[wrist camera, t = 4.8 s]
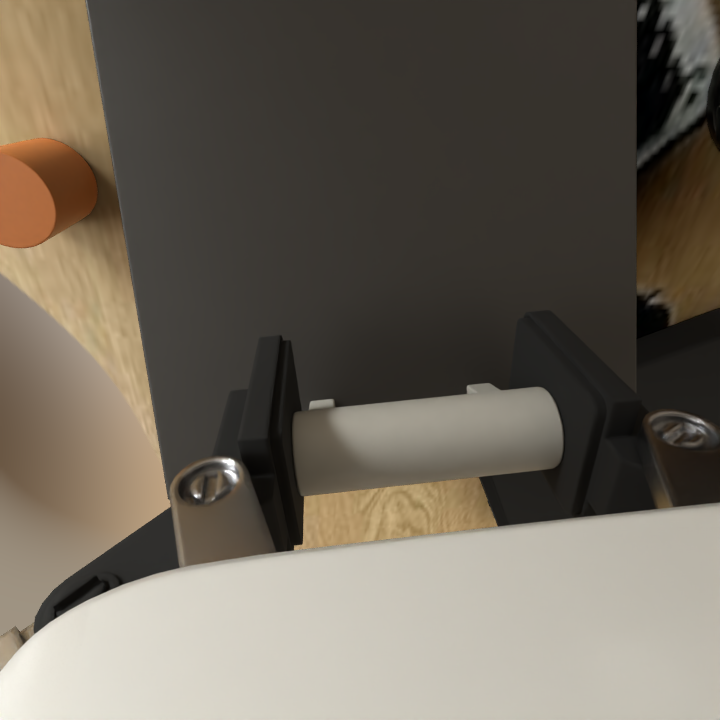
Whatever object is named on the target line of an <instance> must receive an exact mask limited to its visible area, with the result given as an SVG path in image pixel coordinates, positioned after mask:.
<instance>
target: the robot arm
mask: <svg viewBox="0 0 720 720" xmlns="http://www.w3.org/2000/svg"><path fill="white" fill-rule="evenodd" d="M530 387H541V388H544V389H546V390H547V391H548V392H549V393H550V394H551V396H552V397H553V399H554V401H555V402H556V405H557V407H558V410H559V413H560V416H561V420H562V424H563V431H564V452H563V456H562V460H561V462H560V463H559V465H558V466H557V467H555V468H553V469H546V470H540V471H541V473H542V474H543V476H544V478H545V480H546V481H547V483H548V485H549V486H550V488H551V490H552V492H553V493H554V495H555V497H556V499H557V500H558V502H559V504H560V505H561V507H562V509H563V510H564V512H565V513H566V514H572V515H573V517H574V518H570V519H561V520H552V521H543V522H534V523H525V524H516V525H507V526H499V527H490V528H481V529H472V530H463V531H455V532H446V533H437V534H428V535H420V536H412V537H403V538H395V539H386V540H378V541H369V542H361V543H352V544H344V545H335V546H327V547H319V548H310V549H302V550H294V545H302V543H303V512H304V496H301V495H300V494H299V492H298V489H297V485H296V479H295V473H294V464H293V453H292V418H293V414H294V413H295V412H298V411H302V408H301V401H300V395H299V388H298V382H297V375H296V369H295V363H294V356H293V350H292V344H291V340H284V341H283V338H282V335H277V336H267V337H259V340H258V344H257V349H256V354H255V358H254V363H253V368H252V373H251V377H250V382H249V387H248V389H241V390H232V391H230V393H229V395H228V399H227V402H226V406H225V410H224V414H223V417H222V421H221V425H220V428H219V432H218V436H217V440H216V443H215V447H214V451H213V454H212V456H210V457H205V458H202V459H200V460H197V461H195V462H193V463H191V464H190V465H188V466H187V467H185V468H184V469H182V470H181V471H180V472H179V473H178V474H177V476H176V477H175V478H174V480H173V482H172V484H171V485H170V493H169V496H170V503H171V507H170V508H168V509H167V510H165V511H164V512H163V513H161V514H160V515H158V516H157V517H155V518H154V519H152V520H151V521H150V522H148V523H147V524H145V525H144V526H142V527H141V528H139V529H138V530H137V531H135V532H134V533H132V534H131V535H129V536H128V537H127V538H125V539H124V540H122V541H121V542H119V543H118V544H116V545H115V546H114V547H112V548H111V549H109V550H108V551H106V552H105V553H104V554H102V555H101V556H99V557H98V558H96V559H95V560H93V561H92V562H91V563H89V564H88V565H86V566H85V567H84V568H82V569H81V570H79V571H78V572H76V573H75V574H73V575H72V576H70V577H69V578H68V579H66V580H65V581H64V582H63V583H61V584H60V585H59V586H58V587H57V588H55V589H54V590H53V591H52V592H51V594H50V595H49V596H48V597H47V598H46V600H45V601H44V602H43V603H42V605H41V607H40V609H39V611H38V613H37V615H36V617H35V622H34V623H33V624H31V625H30V626H28V627H27V628H25V629H24V630H23V631H21V632H20V631H19V630H18V629H17V627H16V626H15V627H14V628H12V629H11V630H9V631H8V632H6V633H5V634H3V635H2V636H0V720H720V427H719V426H717V425H716V424H714V423H713V422H712V421H710V420H708V419H706V418H704V417H702V416H699V415H697V414H693V413H690V412H687V411H682V410H676V409H659V410H654V411H651V412H649V411H648V410H647V409H646V408H645V407H644V406H643V405H642V404H641V403H642V399H641V398H640V397H639V396H638V395H637V394H636V393H635V392H634V391H633V390H632V389H631V388H630V387H629V386H628V385H627V384H626V383H625V382H624V381H623V380H622V379H621V378H620V377H619V376H618V375H617V374H616V373H615V372H614V371H613V370H612V369H611V368H610V367H608V366H607V365H606V364H605V363H604V362H603V361H602V360H601V359H600V358H599V357H598V356H597V355H596V354H595V353H594V352H593V351H592V350H591V349H590V348H589V347H588V346H587V345H586V344H585V343H584V342H583V341H582V340H581V339H580V338H579V337H578V336H577V335H576V334H574V333H573V332H572V331H571V330H570V329H569V328H568V327H567V326H566V325H565V324H564V323H563V322H562V321H561V320H560V319H559V318H558V317H557V316H556V315H555V314H554V313H553V312H552V311H550V310H544V311H533V312H526V313H525V315H524V317H523V318H519V319H518V321H517V325H516V333H515V341H514V349H513V358H512V366H511V374H510V383H509V390H511V389H521V388H530Z"/></svg>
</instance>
